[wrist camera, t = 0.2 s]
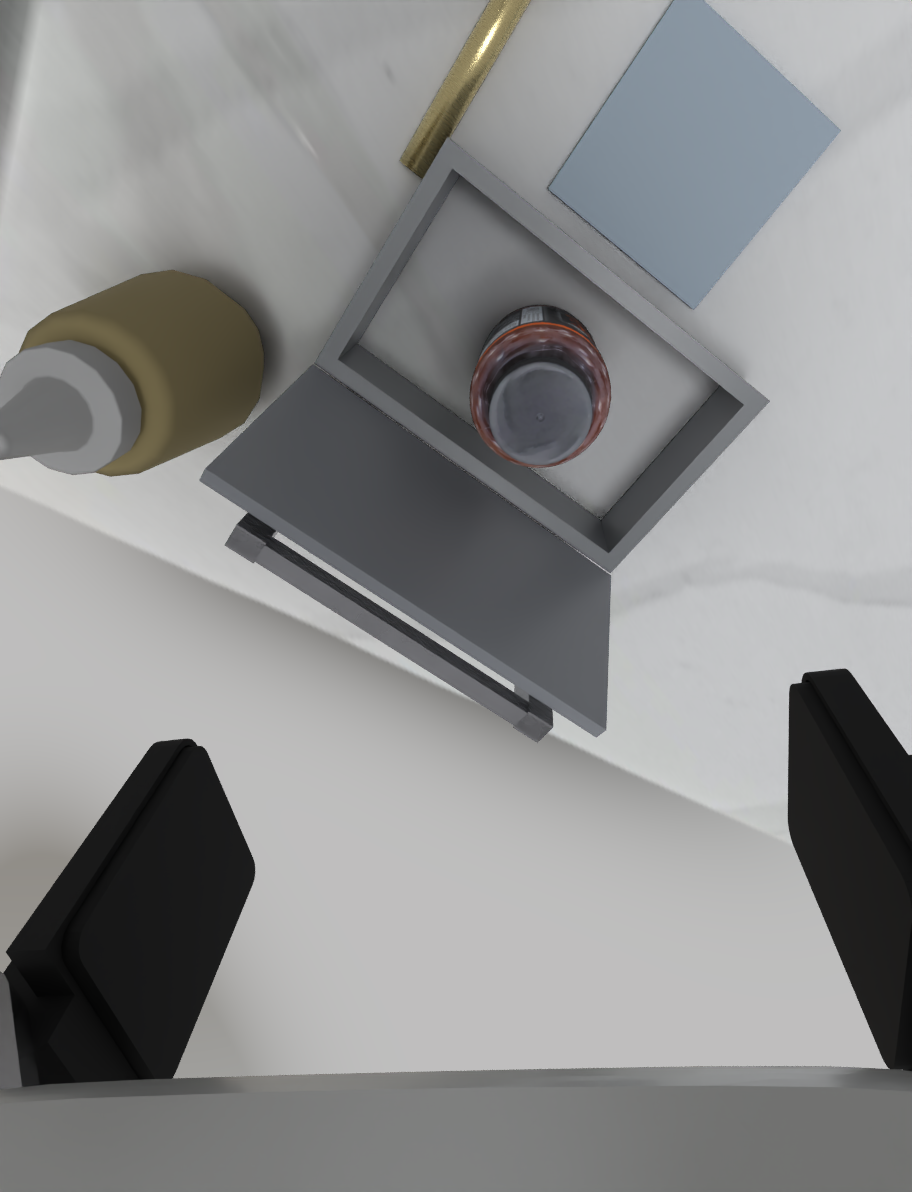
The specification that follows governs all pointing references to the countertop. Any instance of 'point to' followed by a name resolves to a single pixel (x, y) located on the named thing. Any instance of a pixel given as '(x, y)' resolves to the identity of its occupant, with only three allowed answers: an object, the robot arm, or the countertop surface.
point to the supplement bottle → (539, 388)
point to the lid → (426, 541)
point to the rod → (463, 82)
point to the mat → (692, 151)
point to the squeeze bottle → (131, 377)
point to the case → (463, 442)
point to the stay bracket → (388, 628)
